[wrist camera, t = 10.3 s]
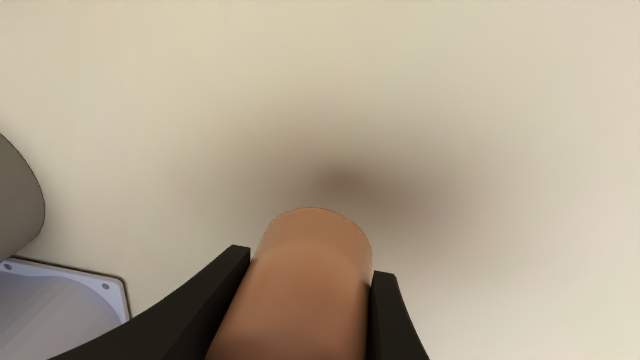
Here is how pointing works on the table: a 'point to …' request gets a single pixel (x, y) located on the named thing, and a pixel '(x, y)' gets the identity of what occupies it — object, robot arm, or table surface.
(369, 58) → the table surface
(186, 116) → the table surface
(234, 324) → the terracotta bead
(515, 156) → the table surface
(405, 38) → the table surface
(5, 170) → the coffee mug
